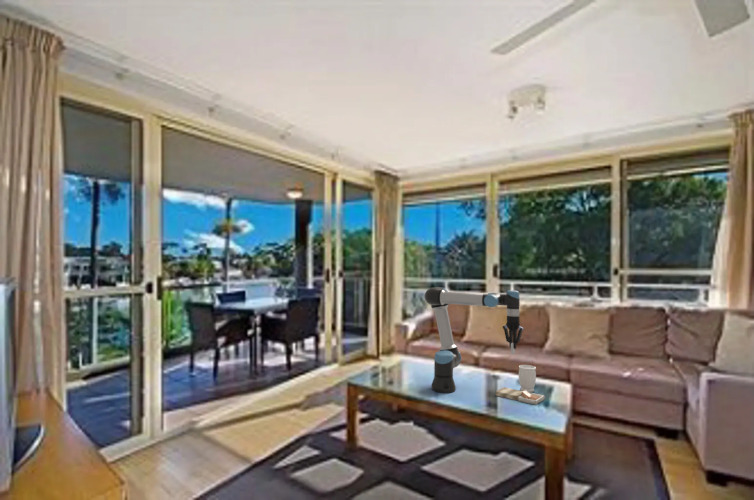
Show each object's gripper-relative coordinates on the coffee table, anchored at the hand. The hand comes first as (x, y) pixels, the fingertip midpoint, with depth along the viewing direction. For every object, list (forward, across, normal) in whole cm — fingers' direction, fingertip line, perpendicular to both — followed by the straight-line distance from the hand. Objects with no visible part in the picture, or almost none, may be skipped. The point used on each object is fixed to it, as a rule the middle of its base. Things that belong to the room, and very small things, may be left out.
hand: (512, 353), depth 273 cm
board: (+24, +1, -5) cm, 25 cm away
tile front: (+22, +15, -5) cm, 27 cm away
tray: (+24, +14, -5) cm, 28 cm away
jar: (+25, +4, +13) cm, 28 cm away
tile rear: (+23, +10, -5) cm, 25 cm away
